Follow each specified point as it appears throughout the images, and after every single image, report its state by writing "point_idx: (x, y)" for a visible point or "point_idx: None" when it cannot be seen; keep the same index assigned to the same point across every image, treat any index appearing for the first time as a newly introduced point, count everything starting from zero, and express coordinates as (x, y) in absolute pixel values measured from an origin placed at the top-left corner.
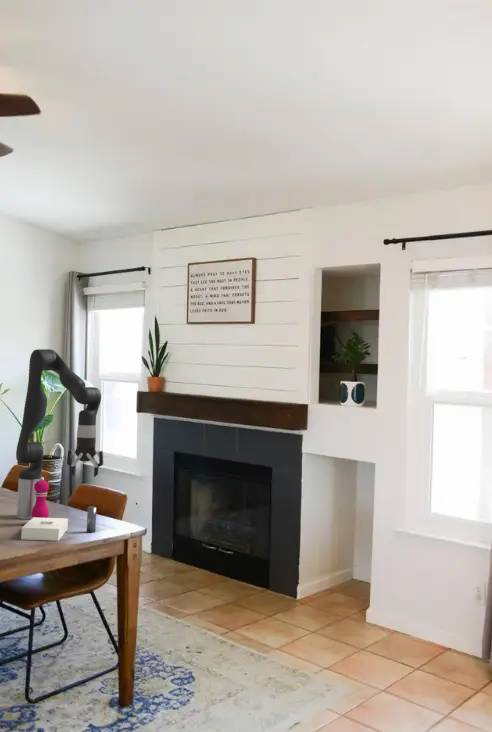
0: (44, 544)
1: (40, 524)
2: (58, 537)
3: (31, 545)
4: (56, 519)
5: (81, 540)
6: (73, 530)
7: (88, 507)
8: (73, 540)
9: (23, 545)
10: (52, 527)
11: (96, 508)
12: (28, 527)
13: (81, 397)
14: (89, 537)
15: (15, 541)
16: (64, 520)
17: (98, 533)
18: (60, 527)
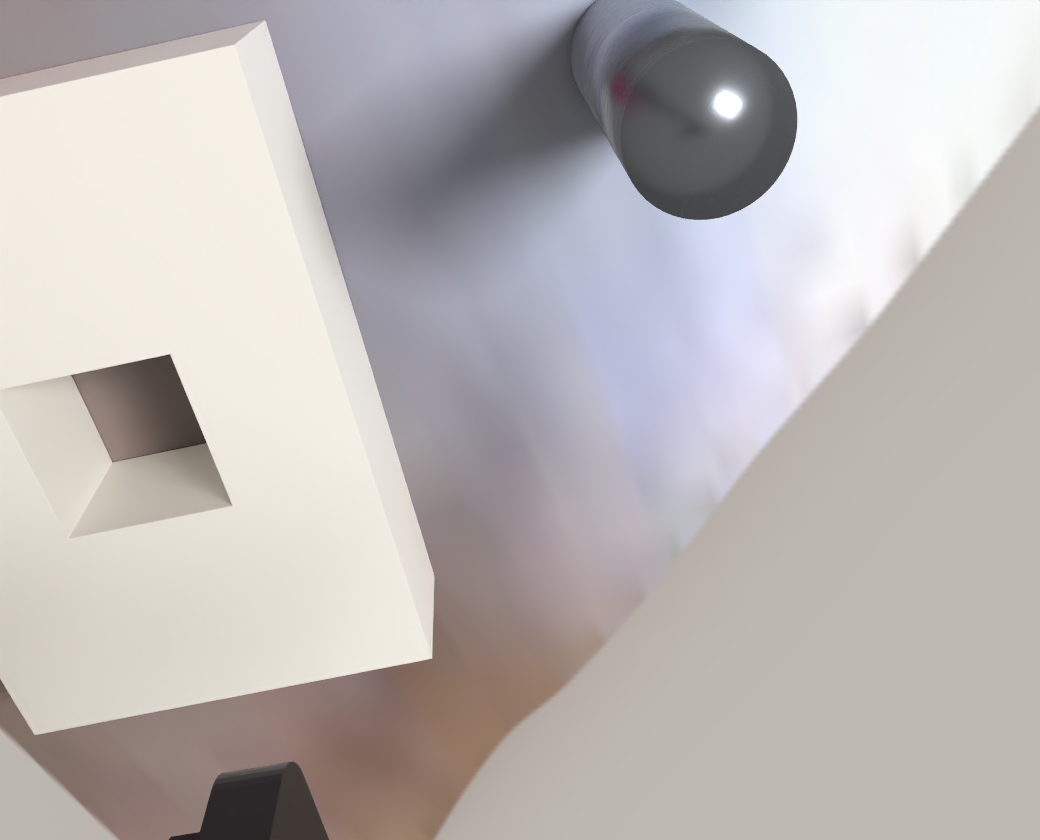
0: (381, 719)
1: (115, 548)
2: (432, 591)
3: None
4: (111, 190)
5: (652, 494)
6: (371, 47)
7: (640, 163)
8: (574, 520)
9: None
10: (333, 629)
11: (792, 118)
12: (93, 708)
13: None
14: (697, 348)
15: None
16: (260, 212)
17: None
18: (406, 575)
